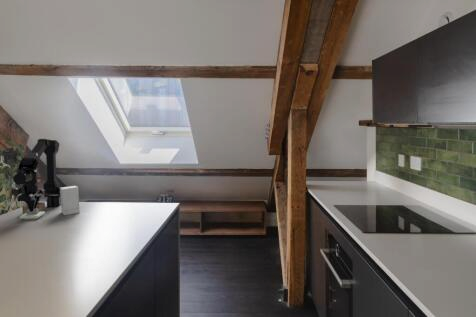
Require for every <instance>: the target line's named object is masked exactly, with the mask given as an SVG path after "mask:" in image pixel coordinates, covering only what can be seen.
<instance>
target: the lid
mask: <svg viewBox="0 0 476 317" xmlns="http://www.w3.org/2000/svg"><path fill="white" fill-rule="evenodd" d="M45 212H46V210H45V211H42V212H39V209H33V212H30V210H29V209H27V210H26V213H25V214H23V213H22V215H20V216H19V219H21V218H24V219H37V218H39V217H40V216H42V215H43V214H45Z"/></svg>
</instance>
